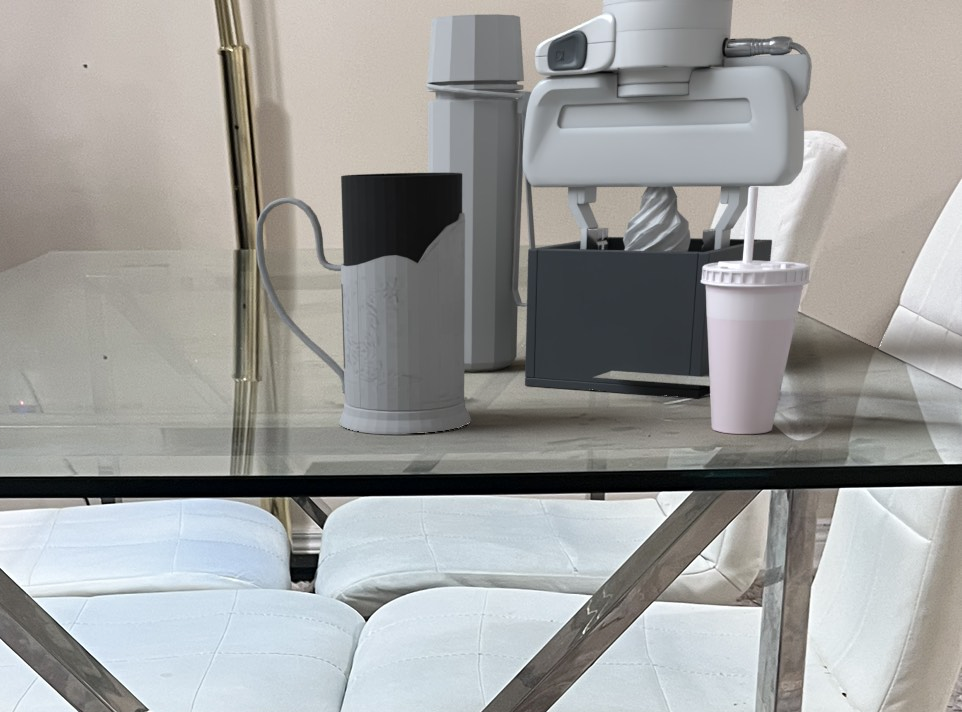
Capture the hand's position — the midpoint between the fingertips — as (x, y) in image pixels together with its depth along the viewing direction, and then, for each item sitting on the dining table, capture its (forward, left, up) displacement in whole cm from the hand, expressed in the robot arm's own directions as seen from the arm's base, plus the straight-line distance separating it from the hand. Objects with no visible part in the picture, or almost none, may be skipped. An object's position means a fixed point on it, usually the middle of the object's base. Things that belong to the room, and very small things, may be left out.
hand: (653, 254), depth 103 cm
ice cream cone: (0, 0, -9) cm, 9 cm away
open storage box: (0, 0, -9) cm, 9 cm away
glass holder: (+10, +24, -9) cm, 28 cm away
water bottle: (+14, 0, -9) cm, 17 cm away
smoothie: (-13, +16, -9) cm, 22 cm away
